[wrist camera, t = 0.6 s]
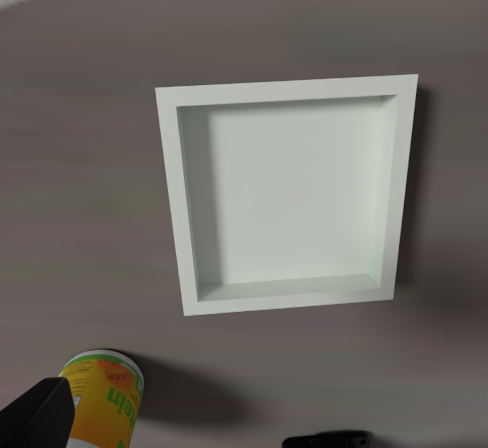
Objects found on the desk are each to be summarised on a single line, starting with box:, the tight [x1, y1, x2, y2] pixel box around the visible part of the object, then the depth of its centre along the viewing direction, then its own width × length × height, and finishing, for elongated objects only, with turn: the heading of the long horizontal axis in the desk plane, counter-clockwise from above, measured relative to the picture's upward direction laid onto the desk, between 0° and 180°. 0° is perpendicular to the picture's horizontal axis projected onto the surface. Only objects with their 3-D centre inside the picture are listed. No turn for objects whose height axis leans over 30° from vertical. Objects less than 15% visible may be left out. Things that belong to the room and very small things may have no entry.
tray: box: [155, 74, 418, 316], centre depth 19 cm, size 12×12×2 cm
